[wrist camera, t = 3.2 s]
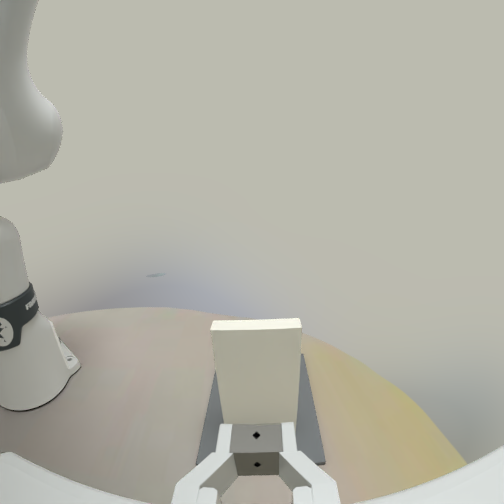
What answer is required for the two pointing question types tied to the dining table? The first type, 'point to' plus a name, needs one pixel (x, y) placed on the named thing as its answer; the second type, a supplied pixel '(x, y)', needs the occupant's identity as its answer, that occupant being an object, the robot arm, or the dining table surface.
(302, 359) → the mat
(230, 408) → the tile
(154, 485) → the dining table surface
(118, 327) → the dining table surface
